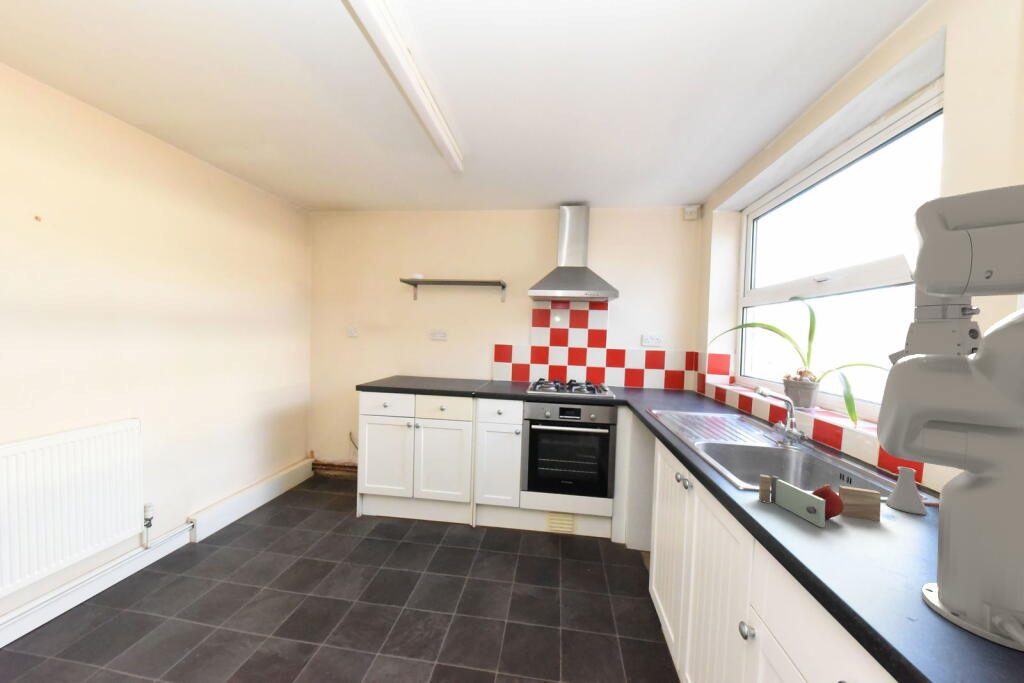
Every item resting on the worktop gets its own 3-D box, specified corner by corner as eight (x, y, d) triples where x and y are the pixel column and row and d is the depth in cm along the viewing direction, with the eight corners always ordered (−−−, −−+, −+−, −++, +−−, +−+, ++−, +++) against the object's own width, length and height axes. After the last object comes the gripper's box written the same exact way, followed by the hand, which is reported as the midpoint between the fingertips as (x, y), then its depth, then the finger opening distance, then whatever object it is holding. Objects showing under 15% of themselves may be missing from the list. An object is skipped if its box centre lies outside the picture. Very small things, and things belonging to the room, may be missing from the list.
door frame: (879, 521, 82) (880, 493, 82) (760, 501, 91) (761, 476, 91) (876, 518, 83) (876, 490, 83) (759, 498, 92) (759, 474, 92)
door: (816, 527, 78) (817, 499, 78) (766, 500, 91) (767, 476, 91) (825, 527, 78) (826, 498, 78) (774, 500, 91) (775, 475, 91)
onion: (830, 526, 79) (831, 491, 79) (803, 513, 85) (804, 480, 85) (849, 523, 81) (850, 488, 80) (821, 511, 86) (822, 478, 86)
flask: (932, 518, 84) (933, 476, 84) (888, 509, 88) (889, 469, 88) (922, 507, 89) (923, 468, 89) (881, 499, 94) (882, 461, 94)
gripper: (1020, 313, 65) (1017, 405, 65) (905, 318, 82) (903, 391, 83) (987, 311, 64) (984, 405, 64) (877, 317, 81) (875, 391, 82)
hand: (938, 397), depth 74 cm, fingers open, 9 cm apart
